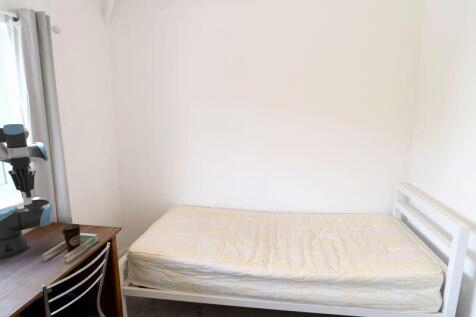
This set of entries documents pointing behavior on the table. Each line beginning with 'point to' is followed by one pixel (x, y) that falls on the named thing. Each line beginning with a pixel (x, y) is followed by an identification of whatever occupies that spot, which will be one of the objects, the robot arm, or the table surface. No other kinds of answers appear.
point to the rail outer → (79, 250)
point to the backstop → (87, 237)
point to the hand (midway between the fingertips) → (28, 203)
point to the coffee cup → (72, 236)
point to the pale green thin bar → (54, 251)
